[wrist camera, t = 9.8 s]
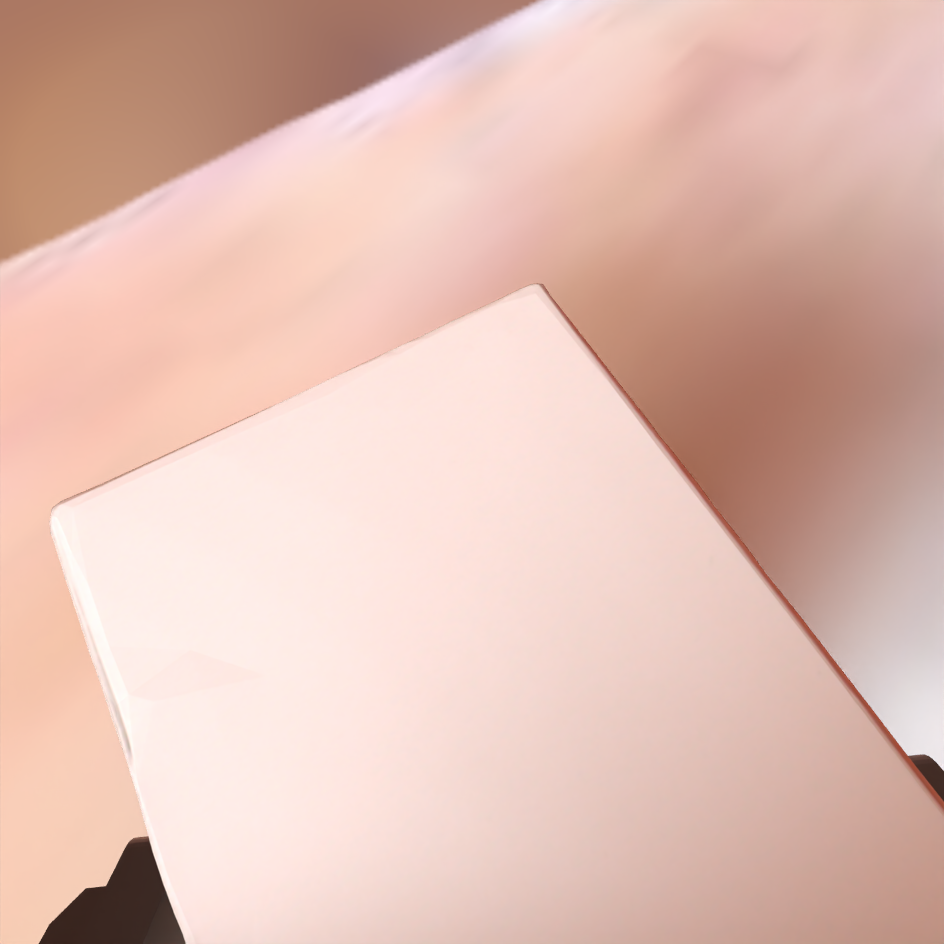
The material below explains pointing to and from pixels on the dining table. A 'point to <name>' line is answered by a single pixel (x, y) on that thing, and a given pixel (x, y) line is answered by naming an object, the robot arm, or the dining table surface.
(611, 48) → the dining table surface
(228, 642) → the small box
